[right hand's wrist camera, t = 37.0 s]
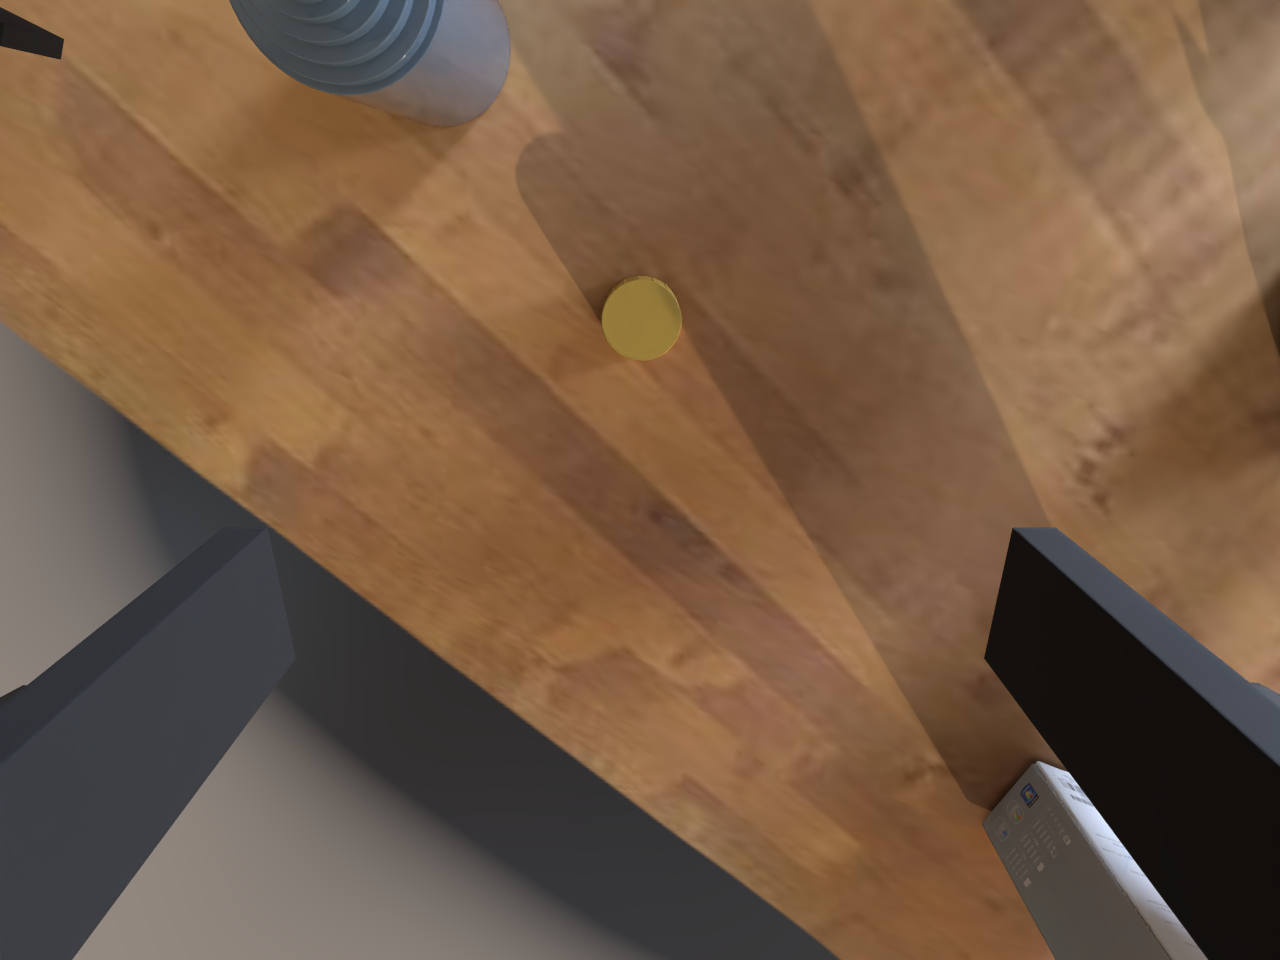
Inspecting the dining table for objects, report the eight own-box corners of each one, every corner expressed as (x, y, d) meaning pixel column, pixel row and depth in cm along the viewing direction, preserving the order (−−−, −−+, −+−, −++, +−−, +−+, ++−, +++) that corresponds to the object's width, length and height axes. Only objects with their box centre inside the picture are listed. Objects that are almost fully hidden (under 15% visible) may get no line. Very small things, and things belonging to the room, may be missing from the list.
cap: (618, 364, 44) (617, 372, 42) (590, 291, 42) (588, 296, 40) (690, 338, 43) (692, 345, 41) (664, 263, 41) (666, 266, 39)
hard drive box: (976, 823, 57) (1135, 1121, 39) (1032, 755, 55) (1232, 1041, 36) (1130, 879, 60) (1350, 1186, 41) (1191, 817, 57) (1455, 1115, 39)
